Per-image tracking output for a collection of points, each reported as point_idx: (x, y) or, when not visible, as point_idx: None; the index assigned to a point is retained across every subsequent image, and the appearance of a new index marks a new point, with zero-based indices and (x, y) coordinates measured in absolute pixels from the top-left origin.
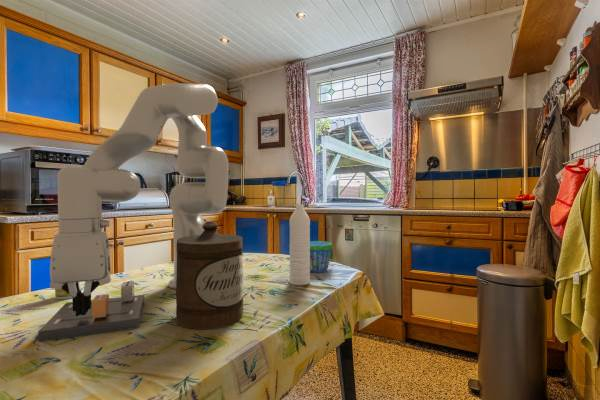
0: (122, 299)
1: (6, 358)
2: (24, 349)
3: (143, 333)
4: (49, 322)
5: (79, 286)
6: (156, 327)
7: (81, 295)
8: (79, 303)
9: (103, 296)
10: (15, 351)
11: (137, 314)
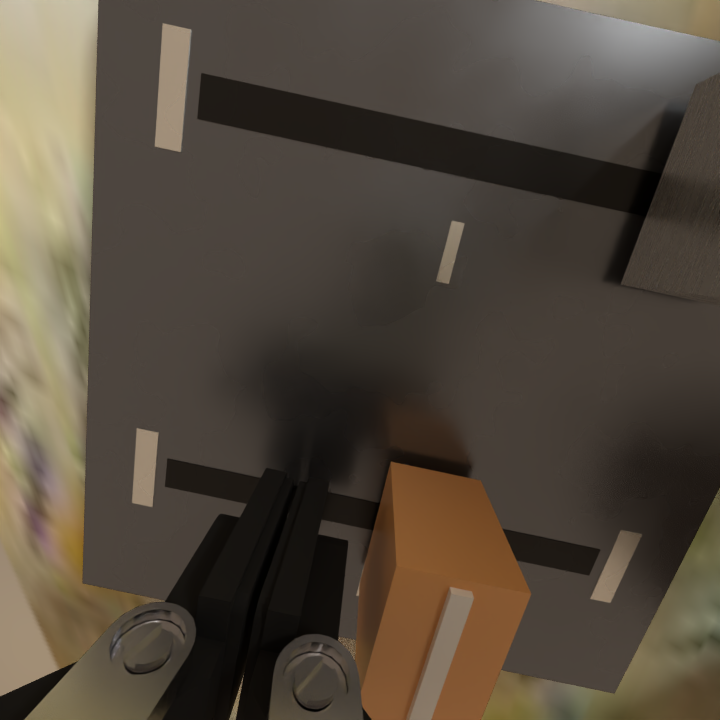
0: (645, 289)
1: (46, 636)
2: (86, 587)
3: (585, 705)
4: (101, 464)
5: (148, 716)
6: (666, 675)
7: (235, 667)
8: (245, 663)
9: (464, 647)
10: (55, 588)
11: (636, 628)
